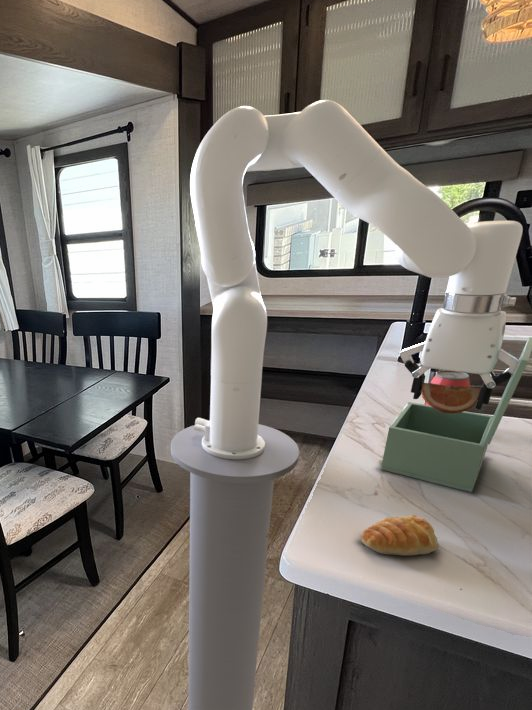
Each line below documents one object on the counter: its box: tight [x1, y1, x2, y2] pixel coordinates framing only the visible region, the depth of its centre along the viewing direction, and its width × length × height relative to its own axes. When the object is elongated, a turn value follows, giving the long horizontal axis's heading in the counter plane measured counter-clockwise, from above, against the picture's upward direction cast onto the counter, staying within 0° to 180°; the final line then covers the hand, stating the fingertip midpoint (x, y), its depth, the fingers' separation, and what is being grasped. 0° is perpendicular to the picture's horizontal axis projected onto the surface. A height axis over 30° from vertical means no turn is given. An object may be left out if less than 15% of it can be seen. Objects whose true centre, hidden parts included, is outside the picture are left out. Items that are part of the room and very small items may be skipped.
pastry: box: [361, 514, 439, 557], centre depth 69 cm, size 9×7×4 cm
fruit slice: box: [420, 382, 481, 413], centre depth 83 cm, size 8×7×5 cm
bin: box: [380, 401, 494, 493], centre depth 87 cm, size 14×15×9 cm
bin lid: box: [483, 337, 532, 446], centre depth 75 cm, size 14×15×6 cm
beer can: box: [425, 370, 471, 405], centre depth 99 cm, size 7×7×12 cm
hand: (447, 401), depth 83 cm, fingers closed on fruit slice, 8 cm apart
